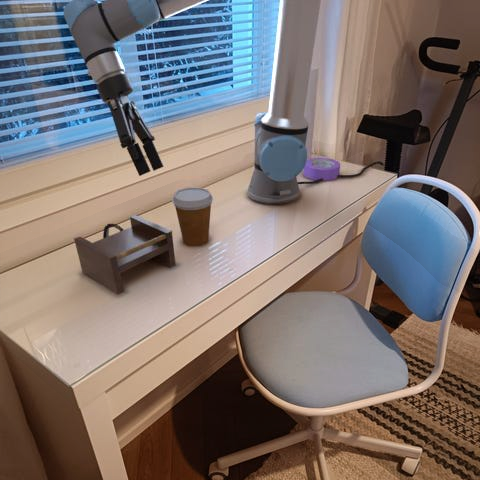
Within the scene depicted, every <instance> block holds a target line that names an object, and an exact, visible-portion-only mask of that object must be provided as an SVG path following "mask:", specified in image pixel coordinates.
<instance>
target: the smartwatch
mask: <svg viewBox="0 0 480 480" xmlns="http://www.w3.org/2000/svg"><path fill="white" fill-rule="evenodd" d="M110 228H114V229H117V230H118V231H119V232H120V231H123V230H124V228H123V227H122V226H120V225H118V224H117V223H107V224H106V225H105V226H104V228H103V233H102V239H103V238H106V237H108V236H110Z"/></svg>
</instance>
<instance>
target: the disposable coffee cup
mask: <svg viewBox="0 0 480 480" xmlns="http://www.w3.org/2000/svg"><path fill="white" fill-rule="evenodd" d="M171 200H172V204H173V206H174V208H175V212H176V216H177V220H178V224H179V228H180V234H181V237H182V242H183V244H185V245H187V246H189V247H191V246H192V247H200V246H203V245H206V244H208V242H209V236H210V224H211V210H212V209H211V208H212V203H213V200H214V197H213V195H212V193H211V191H210V190H209V189H207V188H204V187H199V186H198V187H196V186H194V187H193V186H191V187H184V188H181V189H178V190H176V191H175V192H174V193H173V198H172V199H171Z"/></svg>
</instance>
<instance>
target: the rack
mask: <svg viewBox="0 0 480 480" xmlns="http://www.w3.org/2000/svg"><path fill="white" fill-rule="evenodd" d="M129 220H130V225H131V227H128V228H125V229H123V231H120V230H119V231H118V232H116V233H113V234H111V235H110V234H109V236H108V237H106V238H103V237H102V238H101V239H98V240H95V241H93V242H92V241H90V240H89V239H87V238H84V237H82V236H81V235H80V236H77V237H74V238H73V240H74V244H75V248H76V252H77V257H78V260H79V264H80V268H81V272H82V274H83V275H85V276H87V277H88V278H90V279H91V280H93V281H95V282H96V283H98V284H100V285H101V286H102V287H104V288H106V289H107V290H109V291H111V292H112V293H115V294H116V295H120V294H121V293H123V292H124V288H123V282H122V278H121V273H123V272H126V271H127V270H129V269H132V268H133V267H136V266H138V265H140V264H141V263H144V262H146V261H148V260H150V259H153V260H155V261H157V262H158V263H160V264H162V265H164V266H166V267H168V268H173V267H176V265H177V264H176V257H175V246H174V237H173V231H172V230H170V229H168V228H166V227H163V226H161V225H159V224H156V223H155V222H153V221H150V220H148V219H145V218H143V217H141V216H139V215H136V214H134V215H131V216H130V217H129Z"/></svg>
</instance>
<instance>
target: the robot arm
mask: <svg viewBox="0 0 480 480" xmlns="http://www.w3.org/2000/svg"><path fill="white" fill-rule="evenodd" d="M207 1H209V0H104V1H101V2H99V3H97V2H96V1H95V0H70V1H69V2H68V3H67V4H66V5H65V7H64V9H63V17H64V20H65V21H66V24H67V27H68V29H69V32H70V35H71V36H72V38H73V40H74V43H75V45H76V47H77V49H78V52H79V53H80V55H81V57H82V59H83V61H84V64H85V65H86V67H87V69H88V71H87V75H88V76H89V77H90V76H91V78H92V81H93V83H94V84H95V85H96V90H97V92H98V94H99V96H100V99H101V100H102V101H101V102H102V103H105V104H107V106H108V109H109V111H110V113H111V117H112V120H113V123H114V127H115V130H116V134H117V136H118V139H119V142H120V147H121V148H122V149H125V148H126V151H127V152H128V154H129V157H130V159H131V161H132V163H133V165H134V167H135V169H136V172H137V174H138V177H141V176H143V175H145V174H148V173H150V172H151V168H152V171H153V172H155V171H157V170H159V169H161V168H164V167H165V166H164V163H163V162H162V159H161V157H160V155H159V153H158V151H157V148H156V146H155V144H154V141H156V138H155V136H154V135H153V134H152V133H151V131H150V129H149V127H148V125H147V124H146V122H145V120H144V118H143V117H142V114H141V113H140V111H139V109H138V107H137V106H136V102H135V101H134V100H130V99H129V97H128V96H129V95H131V94H132V93H133V91H134V87H133V85H132V83H131V80H130V79H129V75H128V74H126V68H125V66H124V63H123V62H122V61H123V60H122V59H121V57H120V54H119V53H118V51H117V48H116V47H115V44H116V43H118V42H121V41H122V40H123V39H126V38H128V37H130V36H133V35H134V34H136V33H138V32H141V31H143V30H144V29H147V28H150V27H151V26H153V24H156V23H159V22H161V21H163V20H165V19H168V18H169V17H172V16H175V15H176V14H179V13H182V12H184V11H187V10H189V9H191V8H193V7H196V6H199V5H201V4H203V3H205V2H207ZM321 1H322V0H279V10H278V17H277V28H276V38H275V47H274V56H273V67H272V74H271V85H270V95H269V104H268V111H265V112H259V113H257V114H256V115H255V118H254V123H253V127H254V169H253V172H252V175H251V178H250V182H249V185H248V188H247V195H248V197H249V198H250V199H251V200H252V201H254V202H257V203H259V204H260V203H261V204H265V205H283V204H288V203H291V202H294V201H296V200H297V199H298V198H299V196H300V186H299V185H312V184H317V183H320V182H324V181H323V179H322V178H321V179H319V180H310V181H298V178H297V177H298V176H300V174H301V173H302V172H303V171H304V167H305V165H306V161H307V150H306V147H305V145H306V138H307V132H308V125H309V124H308V122H307V121H306V119H305V118H304V110H305V103H306V96H307V90H308V83H309V76H310V69H311V66H312V61H313V55H314V49H315V48H314V47H315V43H316V36H317V28H318V21H319V14H320V9H321ZM135 134H136V136H137V138H138V140H140V142H141V143H142V148H143V150H142V149H141V146H140V144H139V142H137V141H136V136H135ZM143 151H144V152H143ZM144 153H145V155H146V157H147V159H148V161H147V160H146V158H145V155H144ZM148 162H149V164H150V166H151V168H150V166H149V164H148ZM374 165H381V166H384V165H385V164H384V162H382V161H380V160H379V161H378V160H377V161H373V162H372V163H370V164H368V165H365V166H363V168H362V169H361V170H360V172H358V173H355V174H339V175H337V177H338V178H355V177H360V176H361V175H363V173H364V172H365V171H366V170H367V169H369V168H371V167H373V166H374Z"/></svg>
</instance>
